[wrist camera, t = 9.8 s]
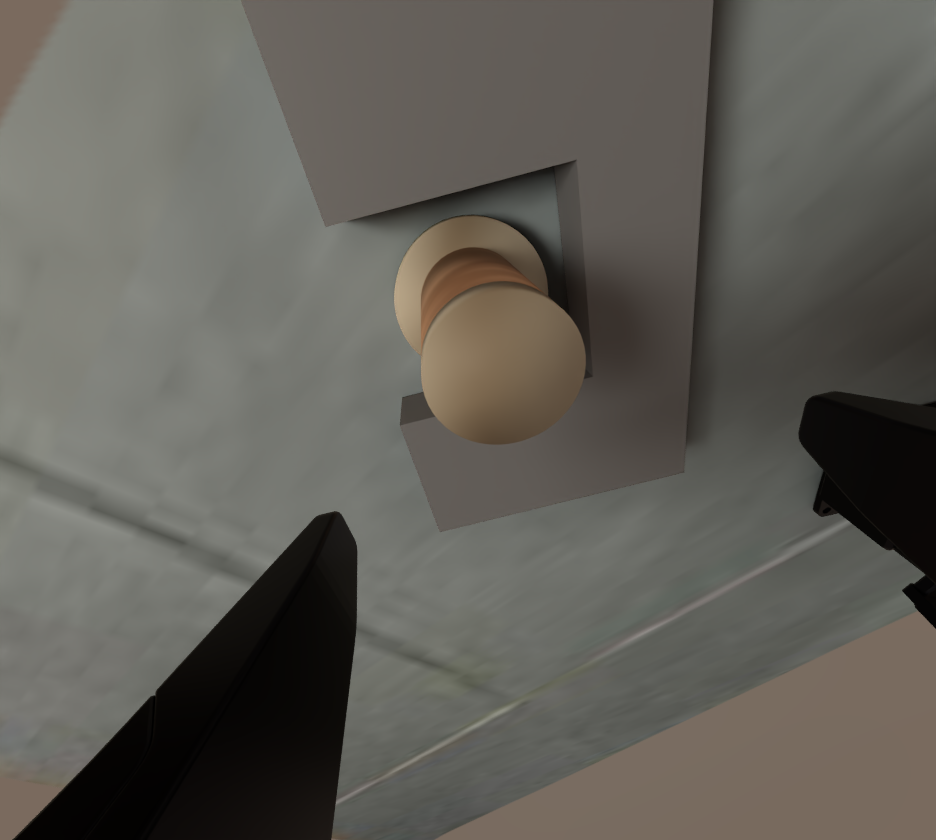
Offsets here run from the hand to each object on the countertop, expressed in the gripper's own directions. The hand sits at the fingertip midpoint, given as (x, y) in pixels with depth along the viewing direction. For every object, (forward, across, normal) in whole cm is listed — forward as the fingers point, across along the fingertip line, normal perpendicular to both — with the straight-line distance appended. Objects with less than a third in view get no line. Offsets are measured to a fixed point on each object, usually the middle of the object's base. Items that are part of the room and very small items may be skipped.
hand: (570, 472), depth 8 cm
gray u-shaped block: (+11, -1, -1) cm, 11 cm away
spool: (+11, +1, -1) cm, 11 cm away
